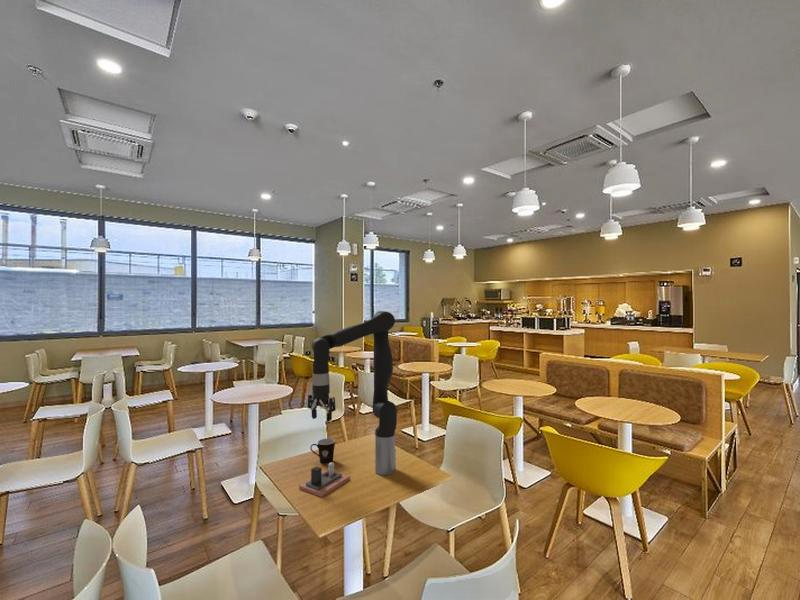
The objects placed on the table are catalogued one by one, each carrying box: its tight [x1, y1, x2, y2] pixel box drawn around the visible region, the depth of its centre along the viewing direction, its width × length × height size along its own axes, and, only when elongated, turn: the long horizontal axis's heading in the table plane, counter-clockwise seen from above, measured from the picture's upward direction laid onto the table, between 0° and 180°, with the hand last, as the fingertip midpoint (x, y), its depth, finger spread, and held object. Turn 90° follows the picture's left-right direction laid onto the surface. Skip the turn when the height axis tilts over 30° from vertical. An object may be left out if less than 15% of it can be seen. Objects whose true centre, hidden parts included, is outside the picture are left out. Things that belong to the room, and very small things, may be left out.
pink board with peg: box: [298, 462, 351, 498], centre depth 162 cm, size 18×13×8 cm
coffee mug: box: [309, 438, 336, 465], centre depth 186 cm, size 12×9×10 cm
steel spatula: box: [306, 466, 343, 490], centre depth 161 cm, size 15×7×7 cm, turn 149°
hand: (321, 419), depth 164 cm, fingers open, 8 cm apart
